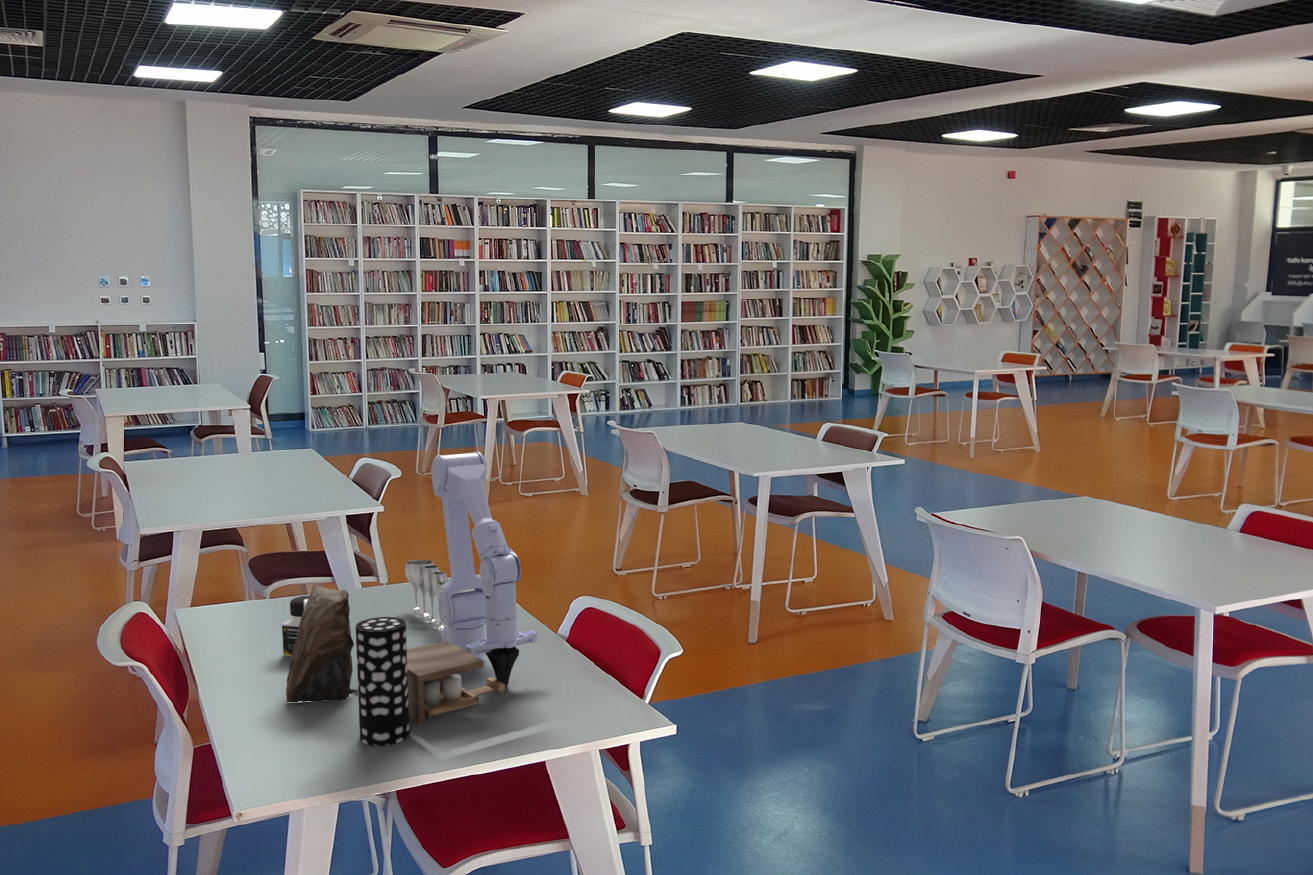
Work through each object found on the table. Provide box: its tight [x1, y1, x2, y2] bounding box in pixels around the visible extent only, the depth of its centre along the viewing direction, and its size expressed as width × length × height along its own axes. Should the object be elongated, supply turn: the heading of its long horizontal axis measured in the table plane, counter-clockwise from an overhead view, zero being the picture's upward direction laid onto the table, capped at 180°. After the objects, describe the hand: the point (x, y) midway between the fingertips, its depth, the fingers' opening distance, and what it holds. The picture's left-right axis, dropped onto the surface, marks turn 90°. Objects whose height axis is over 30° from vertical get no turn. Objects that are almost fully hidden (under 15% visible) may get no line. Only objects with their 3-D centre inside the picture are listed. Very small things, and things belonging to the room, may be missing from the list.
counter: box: [407, 640, 484, 725], centre depth 194 cm, size 14×13×10 cm
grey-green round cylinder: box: [423, 680, 440, 707], centre depth 194 cm, size 3×3×4 cm
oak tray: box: [424, 676, 506, 717], centre depth 197 cm, size 10×17×2 cm, turn 128°
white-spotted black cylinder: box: [355, 616, 410, 747], centre depth 181 cm, size 8×8×20 cm
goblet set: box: [404, 559, 463, 636], centre depth 247 cm, size 28×6×13 cm, turn 32°
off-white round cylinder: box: [443, 673, 462, 701], centre depth 196 cm, size 3×3×4 cm
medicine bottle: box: [281, 595, 309, 657], centre depth 225 cm, size 7×7×12 cm
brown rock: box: [285, 583, 355, 703], centre depth 202 cm, size 13×13×20 cm
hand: (502, 685), depth 203 cm, fingers closed
